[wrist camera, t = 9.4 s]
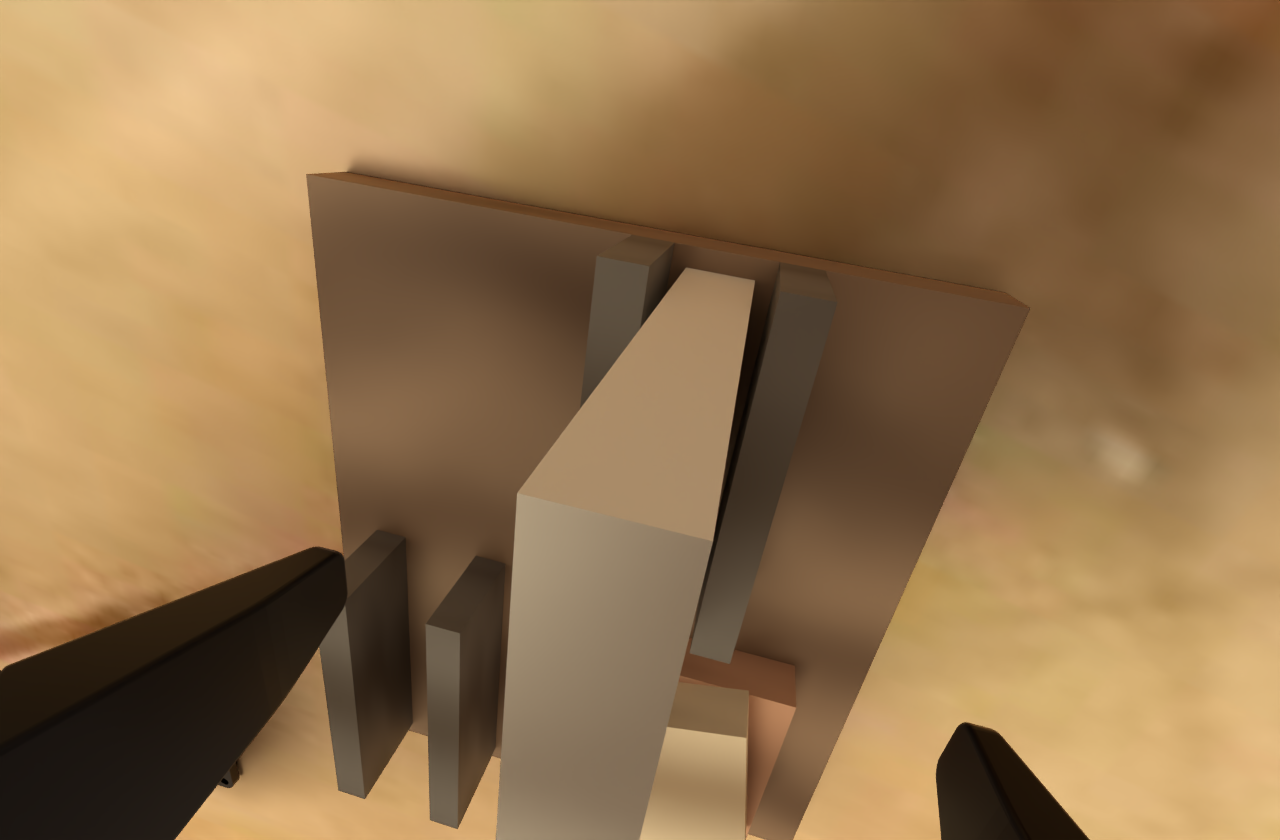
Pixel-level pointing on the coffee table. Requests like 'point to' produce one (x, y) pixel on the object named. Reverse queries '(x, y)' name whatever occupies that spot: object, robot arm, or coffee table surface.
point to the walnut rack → (545, 405)
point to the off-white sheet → (617, 570)
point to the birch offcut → (701, 768)
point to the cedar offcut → (752, 708)
